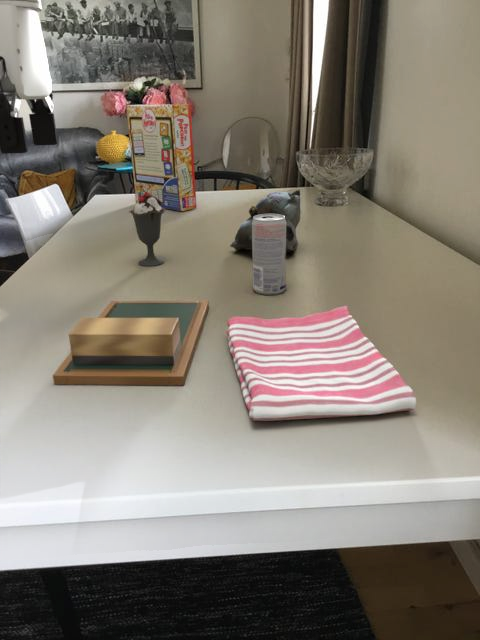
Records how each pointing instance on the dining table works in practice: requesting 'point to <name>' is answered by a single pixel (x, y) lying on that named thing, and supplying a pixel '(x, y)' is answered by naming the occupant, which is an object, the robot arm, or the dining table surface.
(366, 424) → the dining table surface
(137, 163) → the board game
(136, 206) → the sundae
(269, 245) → the energy drink
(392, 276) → the dining table surface
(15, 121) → the robot arm
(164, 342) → the eraser
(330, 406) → the dish towel
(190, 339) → the chalkboard
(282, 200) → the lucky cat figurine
